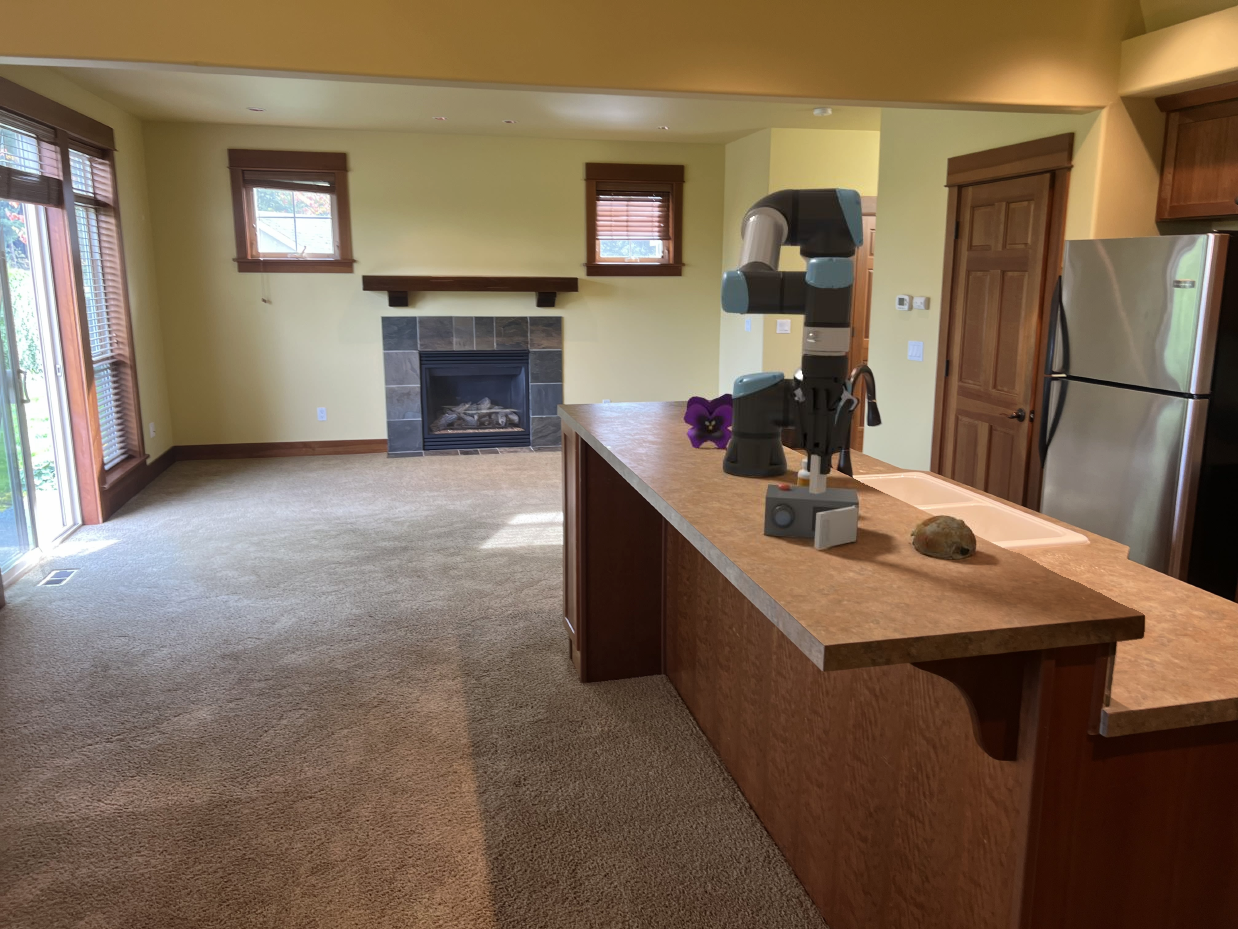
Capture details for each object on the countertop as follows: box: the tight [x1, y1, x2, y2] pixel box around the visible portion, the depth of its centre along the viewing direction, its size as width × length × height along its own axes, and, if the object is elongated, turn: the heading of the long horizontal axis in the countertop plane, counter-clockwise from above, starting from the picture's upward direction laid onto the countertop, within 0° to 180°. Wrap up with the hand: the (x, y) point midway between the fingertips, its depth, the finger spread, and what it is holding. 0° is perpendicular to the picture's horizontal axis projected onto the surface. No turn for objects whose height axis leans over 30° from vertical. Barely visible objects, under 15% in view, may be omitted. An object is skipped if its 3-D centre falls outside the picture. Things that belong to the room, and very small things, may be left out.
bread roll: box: [910, 514, 978, 560], centre depth 150 cm, size 10×10×8 cm
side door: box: [813, 504, 860, 550], centre depth 152 cm, size 2×10×6 cm, turn 123°
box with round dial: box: [763, 483, 860, 539], centre depth 161 cm, size 12×16×8 cm
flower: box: [683, 392, 733, 450], centre depth 245 cm, size 15×15×14 cm
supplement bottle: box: [796, 458, 810, 487], centre depth 177 cm, size 5×5×10 cm
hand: (817, 491), depth 152 cm, fingers closed
